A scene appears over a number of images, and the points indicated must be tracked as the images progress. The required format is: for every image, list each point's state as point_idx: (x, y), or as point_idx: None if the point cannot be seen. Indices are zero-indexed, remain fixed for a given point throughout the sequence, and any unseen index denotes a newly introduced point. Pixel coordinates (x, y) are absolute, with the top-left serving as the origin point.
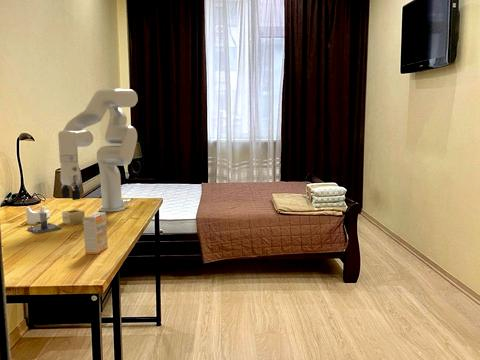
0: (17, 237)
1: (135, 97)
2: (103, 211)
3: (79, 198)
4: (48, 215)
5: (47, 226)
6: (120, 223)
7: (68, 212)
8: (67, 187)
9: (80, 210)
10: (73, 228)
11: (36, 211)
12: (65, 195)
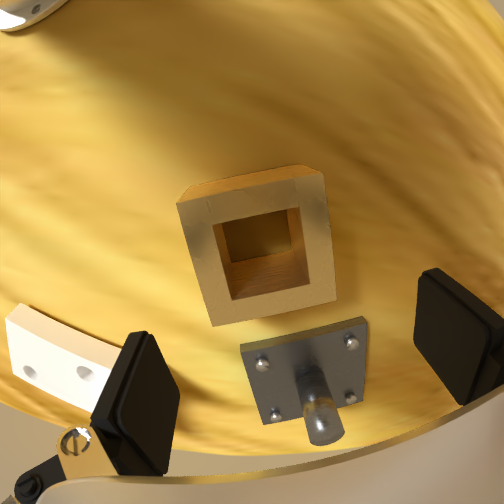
0: (351, 432)
1: None
2: (61, 4)
3: (437, 273)
4: (48, 323)
5: (319, 373)
6: (443, 35)
7: (274, 294)
8: (103, 443)
9: (257, 190)
10: (393, 264)
11: (23, 369)
12: (167, 388)
